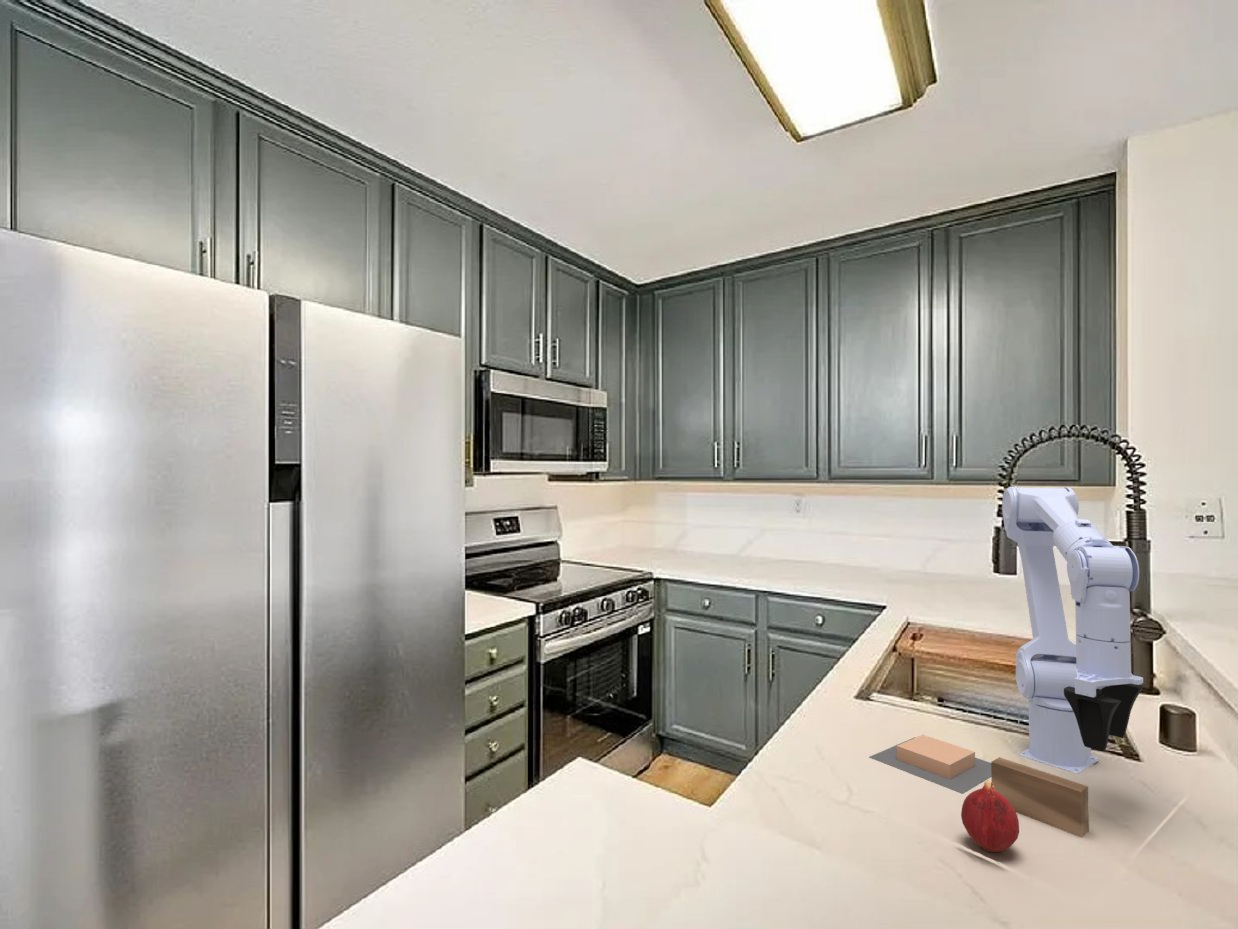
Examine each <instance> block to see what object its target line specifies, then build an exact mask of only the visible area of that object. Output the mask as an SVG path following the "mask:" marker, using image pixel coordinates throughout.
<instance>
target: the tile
mask: <svg viewBox="0 0 1238 929" xmlns="http://www.w3.org/2000/svg"><path fill="white" fill-rule="evenodd" d="M913 738H914V737H913ZM910 739H911V740H909V739H908V740H909V741H907V740H906V741H907V742H905V741H903V742H904V743H902V742H901V743H902V744H900V743H899V744H900V745H898V744H897V745H898V746H897V759H898V760H901V761H903V762H906V763H909V764H911V765H914V766H917V767H919V768H922V769H925V770H927V771H930V772H933V773H935V774H938V775H940V776H943V777H946V778H948V779H951V778H953V777H955V776H956V775H958V774H960V773H962V772H964V771H966V770H967V769H969V768H971V767H973V766H975V758H976V751H974V750H971V749H968V748H965V747H962V746H960V745H959V746H958V745H956V744H952V743H949V742H946V741H944V740H940V739H938V738H934V737H931V736H928V735H925V734H921V735H919V736H916V738H914V739H912V738H910Z"/></svg>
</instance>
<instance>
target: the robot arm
mask: <svg viewBox="0 0 1238 929" xmlns="http://www.w3.org/2000/svg"><path fill="white" fill-rule="evenodd" d="M1001 503H1002V504H1001V511H1002V519H1003V525H1004V531H1005V532H1006V537H1007V538H1008V539H1009V540H1012V541H1014V542H1015V543H1016V544H1017V547H1018V551H1019V554H1020V559H1021V565H1022V573H1023V580H1024V587H1025V592H1026V599H1027V600H1026V601H1027V607H1028V613H1029V619H1030V621H1029V622H1030V626H1031V633H1032V639H1031V640H1029V641H1027V642H1026V643H1025V644H1023V645H1021V646H1020V647H1019V648H1018V649H1017V652H1016V654H1015V662H1016V663H1015V665H1016V666H1015V679H1016V680H1015V681H1016V685H1017V686H1016V687H1017V689H1018V691H1019V693H1020V694H1021V695H1022V696H1023V698H1025V699H1027V700H1028V737H1029V738H1028V746H1029V747H1028V748H1026V749H1025V750H1022V751H1021V752H1019V753H1018V755H1019V756H1020V757H1024V758H1026V759H1030V760H1032V761H1033V760H1034V761H1036V762H1038V763H1041V764H1046V765H1048V766H1051V767H1055V768H1058V769H1061V770H1064V771H1066V772H1067V771H1068V772H1071V773H1074V774H1078V775H1079V774H1080V773H1082V772H1083V771H1085V770H1086V769H1087V768H1089V767H1091V765H1095V764H1096V763H1097V762H1098V761H1097V760H1100V759H1099V757H1098V756H1095V755H1092V750H1096V751H1099V752H1105V751H1106V749H1107V746H1108V742H1109V737H1110V736H1113V737H1116V738H1120V739H1124V737H1125V735H1126V731H1127V730H1128V725H1129V721H1130V718H1131V717H1130V716H1131V712H1132V709H1133V707H1134V704H1135V702H1136V700H1137V698H1138V696H1139V695H1140V694H1141V692H1142V691H1143V685H1142V684H1144V677H1142V676H1139V675H1134V674H1133V673H1132V651H1131V650H1132V649H1131V648H1132V646H1131V644H1132V642H1131V641H1132V640H1131V637H1132V636H1131V600H1130V598H1131V597H1130V596H1131V595H1130V593H1131V592H1133V591H1134V590H1136V588H1137V587H1138V584H1139V580H1140V565H1139V561H1138V558H1137V556H1136V554H1135V552H1134V551H1133V550H1132V548H1130V547H1129V546H1125V545H1124V546H1121V545H1120V546H1119V545H1113V544H1112V542H1110V540H1109V539H1108V538H1107V537H1106V536H1105V535H1104V534H1103V533H1102V532H1101V530H1100V529H1099V528H1098V527H1097V526H1096V525H1095V524H1094V523H1093V522H1091V521H1090V520H1089V519H1087V518H1086V519H1083V518H1080V517H1079V498H1078V495H1077V493H1076V492H1075V491H1074V490H1073V489H1072V488H1071V487H1068V486H1067V487H1059V488H1058V487H1015V486H1008V487H1007V488H1006V490H1004V491H1003V495H1002V502H1001ZM1054 547H1056V549H1057V550H1058V551H1059V553H1060V554H1061V556H1062V557H1063V559H1064V560H1065V561H1066V571H1067V572H1066V573H1067V577H1068V581H1069V584H1070V595H1071V600H1074V602H1075V611H1074V612H1075V643H1074V642H1072V641H1071V640H1070V639H1069V634H1068V628H1067V623H1066V617H1065V611H1064V605H1063V600H1062V594H1061V587H1060V582H1059V576H1058V570H1057V566H1056V564H1057V563H1056V558H1055V553H1054Z"/></svg>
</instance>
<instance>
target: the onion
mask: <svg viewBox="0 0 1238 929" xmlns="http://www.w3.org/2000/svg"><path fill="white" fill-rule="evenodd" d="M983 783H984V784H983V786H982V788H979V789H977V790H973V791H972V792H970V793H969V794H968V795H967V796H966V797H965V798H964V800H963V803H962V806H961V813H960V816H961V817H960V818H961V821H962V825H963V827H964V829H965V830H966V832H967V834H968V835H969V837H970V838H971V839H972V840H973V842H975V843H976V844H977V845H978V847H980V848H982V849H983V850H985V851H987V852H989V853H997V852H1001V851H1005V850H1007V849H1009V848H1010V847H1012V845H1014V844H1015V843H1016V841H1017V840H1018V839H1019V838H1018V837H1019V834H1020V821H1019V820H1020V819H1019V816H1018V813H1017V812H1015V810H1014V808H1013V806H1012V805H1011V804H1010V803H1009V801H1008V800H1007V799H1006V798H1005V797H1004V796H1003V795H1001V794H1000V793H999V792H997V791H996V790H995V788H994V784H993V783H992V780H989V779H987V780H985V781H984V782H983Z"/></svg>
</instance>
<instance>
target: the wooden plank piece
mask: <svg viewBox="0 0 1238 929" xmlns="http://www.w3.org/2000/svg"><path fill="white" fill-rule="evenodd" d="M990 763H991V778H990V779H991V782H992V783H993V784H994V788H995V790H996V791H997V792H999V793H1000V794H1001V795H1003V796H1004V797H1005V798H1006V799H1007V800H1008V801H1009V803H1010V804H1011V805H1012V806H1013V808H1014V810H1015V812H1016V814H1019V815H1022V816H1024V817H1028V818H1030V819H1032V820H1034V821H1038V822H1040V823H1041V824H1045V825H1048V826H1050V827H1053V828H1056V829H1059V830H1061V831H1063V832H1066V833H1067V834H1071V835H1073V836H1076V837H1078V838H1083V837H1084V836H1085V835H1086V834H1088V833H1089V832H1090V827H1089V826H1090V822H1089V821H1090V819H1089V817H1090V815H1089V814H1090V813H1089V812H1090V811H1089V808H1090V807H1089V786H1088V785H1086V784H1083V783H1080V782H1076V781H1073V780H1070V779H1067V778H1064V777H1061V776H1057V775H1054V774H1051V773H1050V772H1046V771H1043V770H1039V769H1038V768H1034V767H1031V766H1027V765H1024V764H1022V763H1021V764H1020V763H1019V762H1015V761H1013V760H1009V759H1006V758H1003V757H997V758H995V759H993V760H992V761H991V762H990Z"/></svg>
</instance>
